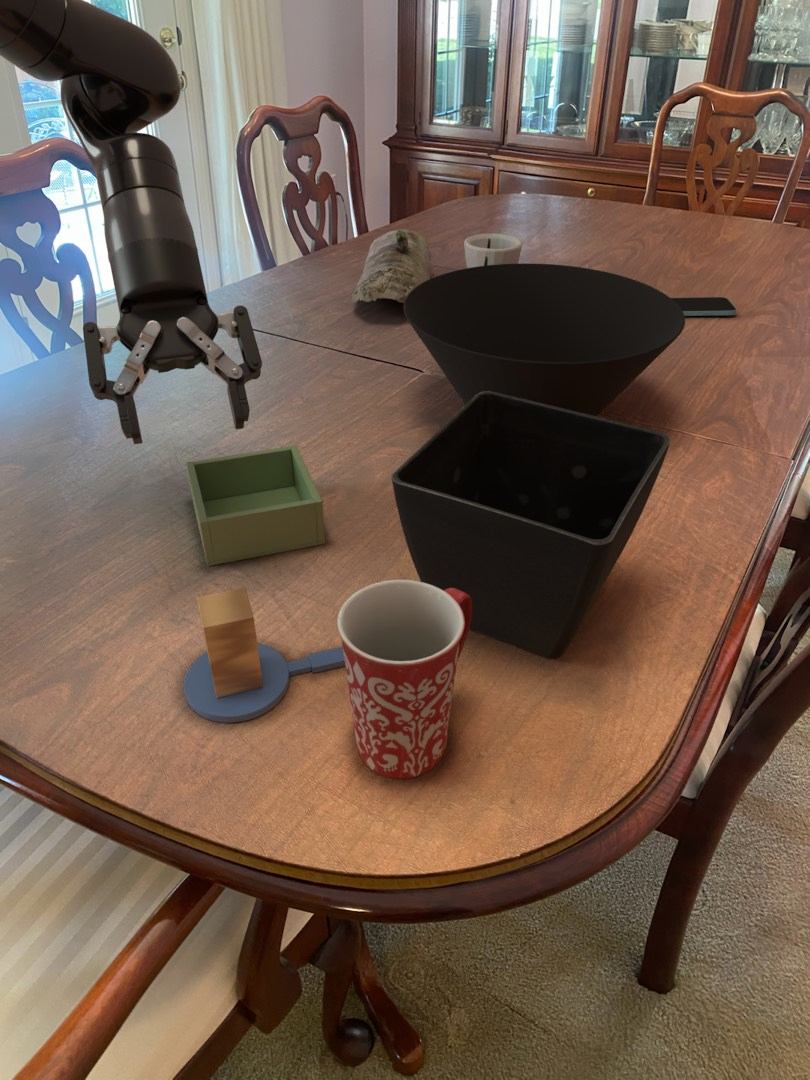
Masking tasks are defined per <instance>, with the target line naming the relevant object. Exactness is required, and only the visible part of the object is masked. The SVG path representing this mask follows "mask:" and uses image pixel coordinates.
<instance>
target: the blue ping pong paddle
mask: <svg viewBox="0 0 810 1080" xmlns="http://www.w3.org/2000/svg"><path fill="white" fill-rule="evenodd" d="M257 644H258V651H259V658H260V666H261V673H262V680H263V688H258V689H254V690H250V691H246V692H241V693H237V694H233V695H228V696H224V697H220V698H217V697H216V693H215V688H214V683H213V678H212V673H211V668H210V663H209V658H208V652H207V651H206V652H205V653H203V654H202V655H200V656H199V657H197V658H196V660H195V661H194V662H193V663H192V664H191V665H190V666H189V668H188V670H187V672H186V674H185V676H184V679H183V692H184V696H185V699H186V702H187V704H188V706H189V707H190V709H191V710H192V711H193V712H195V713H196V714H197V715H199V716H200V717H202V718H204V719H206V720H209V721H211V722H217V723H225V724H227V723H228V724H229V723H230V724H231V723H232V724H233V723H241V722H242V723H243V722H246V721H250V720H253V719H256V718H258V717H261V716H262V715H264V714H266V713H268V712H269V711H272V709H274V708H275V707H276V706H277V705H278V704H279V703H280V702H281V701H282V699H283V698H284V697H285V695H286V693H287V692H288V688H289V686H290V677H292V676H296V675H301V674H305V673H310V672H312V674H316V673H320V672H324V671H329V670H333V669H337V668H342V667H345V660H344V652H343V646H340V647H335V648H331V649H327V650H322V651H318V652H313V653H309V654H307V657H305V658H300V659H296V660H292V661H288V662H287V661H286V658H285V657H283V655H282V654H281V653H280V652H279V651H277V650H276V649H275V648H273V647H271V646H269V645H266V644H263V643H260V642H257Z"/></svg>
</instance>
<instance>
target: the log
mask: <svg viewBox="0 0 810 1080" xmlns="http://www.w3.org/2000/svg"><path fill="white" fill-rule="evenodd" d="M363 266H364V267H363V271H362V273H361V276H360V278H359V280H358V282H357V284H356V287H355V289H354V290H353V291H352V293H351V300H352V302H353V303H356V302H358V301H360V302H362V301H363V302H365V303H370V302H372V301H373V302H376V300H378V299H389V300H394V301H397V303H402V304H404V301H405V299H406V297H407V296H408V294H409V293H410V292H411V291H412V290H413V289H414V288H415V287H417V286H418V285H420V284H421V283H423V282H425V281H427V280H429V279H431V276H432V251H431V249H430V243H429V242H428V240H427V239H426V238H425V237H424V236H422V235H421V234H420V233H419V232H417V231H413V230H411V229H409V230H408V229H403V228H402V229H396V230H389V231H388V232H386V233H384V234H382V235H380V236H378V237H376V238H375V239H374V240H373V242H372V243H371V244H370V246H369V250H368V253H367V256H366V259H365V262H364V265H363Z"/></svg>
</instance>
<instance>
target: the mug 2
mask: <svg viewBox="0 0 810 1080" xmlns="http://www.w3.org/2000/svg"><path fill="white" fill-rule="evenodd" d="M463 247H464V257H465V265H466V268H472V267H478V266H487V265H498V264H519V261H520V256H521V252H522V247H523V242H522V240H521V239H520V238H519V237H516V236H513V235H509V234H504V233H503V234H502V233H479V234H474V235H471V236H468V237H466V238H465V239H464V242H463Z"/></svg>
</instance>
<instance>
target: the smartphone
mask: <svg viewBox="0 0 810 1080" xmlns="http://www.w3.org/2000/svg"><path fill="white" fill-rule="evenodd" d="M670 298H671V299H672V300H674V301H675V302H676V303H677V304H678V306H679V307H680V308H681V310H682V311H683V314H684V316H685V317H695V316H699V317H700V316H703V317H704V316H705V317H707V316H715V317H720V316H726V317H728V316H730V317H731V316H735V315H736V314H737V310H738V309H737V307H736V306H735V304H733V303H732V301H731V300H730V299H729V298H727V297H725V296H695V297H693V296H692V297H687V296H686V297H670Z"/></svg>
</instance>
